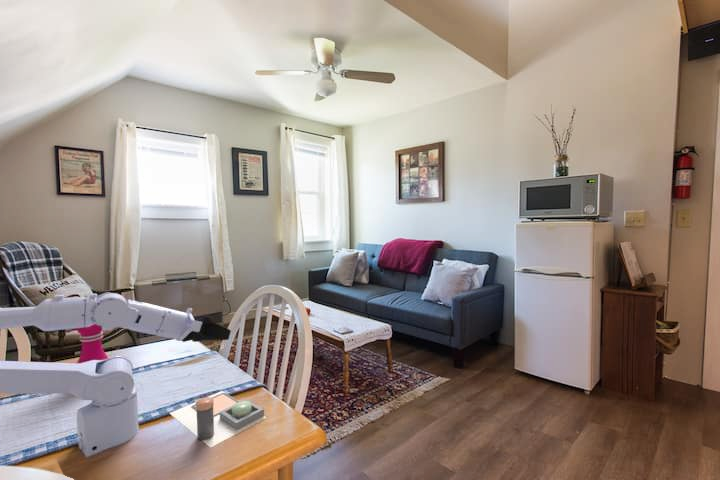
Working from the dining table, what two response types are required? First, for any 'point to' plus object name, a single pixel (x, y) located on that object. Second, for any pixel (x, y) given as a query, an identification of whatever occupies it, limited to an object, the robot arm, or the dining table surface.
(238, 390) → the dining table surface
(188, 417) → the board
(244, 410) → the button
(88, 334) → the pepper mill
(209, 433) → the marker
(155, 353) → the dining table surface
